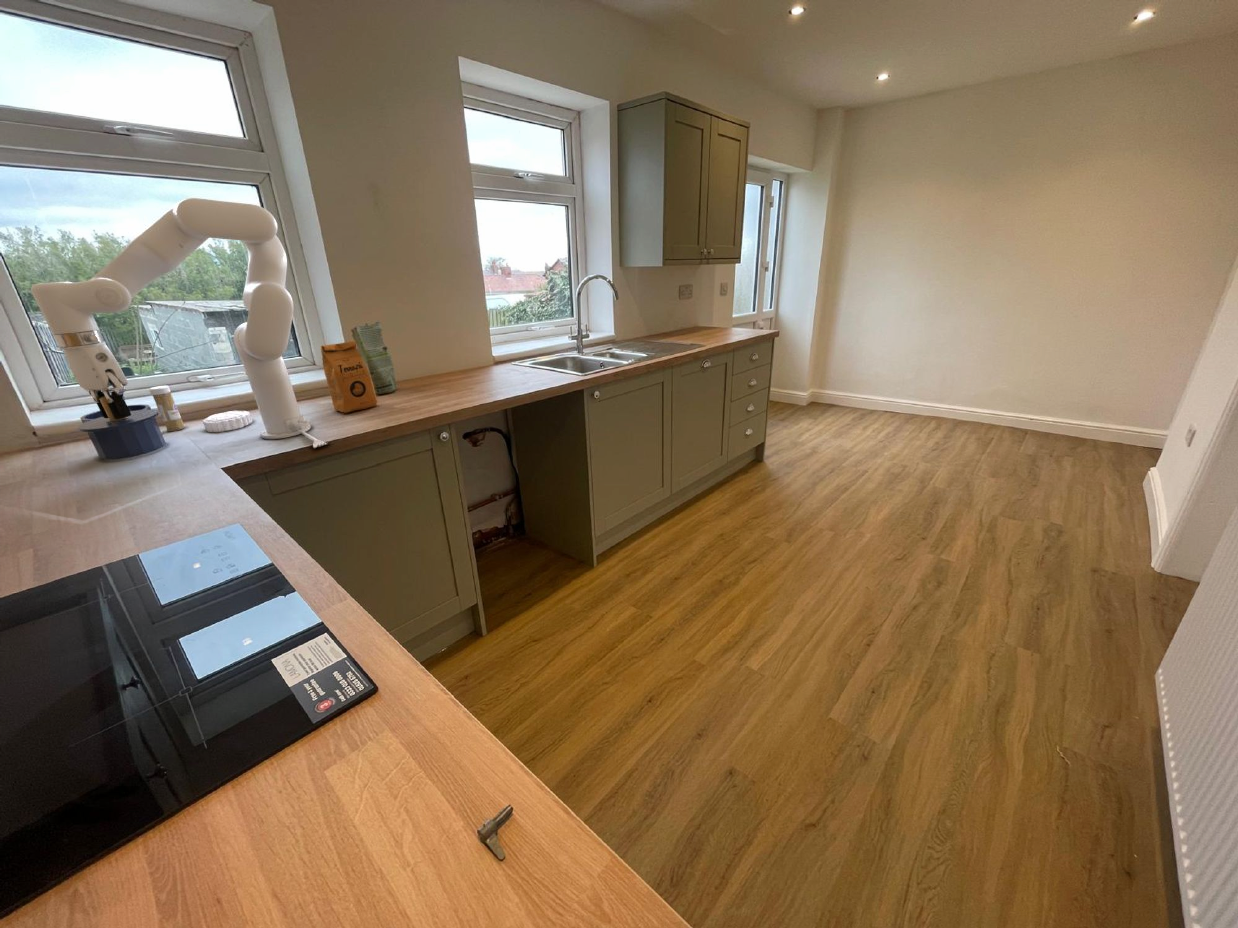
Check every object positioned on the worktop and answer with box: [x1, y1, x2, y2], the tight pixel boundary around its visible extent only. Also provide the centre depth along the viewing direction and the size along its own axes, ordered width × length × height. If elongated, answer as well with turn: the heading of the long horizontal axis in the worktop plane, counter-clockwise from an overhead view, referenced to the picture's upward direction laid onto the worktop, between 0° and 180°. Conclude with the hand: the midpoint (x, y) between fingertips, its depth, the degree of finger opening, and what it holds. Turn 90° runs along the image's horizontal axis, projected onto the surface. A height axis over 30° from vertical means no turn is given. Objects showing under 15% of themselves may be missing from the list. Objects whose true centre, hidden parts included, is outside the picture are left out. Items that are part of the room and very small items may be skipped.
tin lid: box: [76, 397, 160, 433], centre depth 120 cm, size 15×15×7 cm
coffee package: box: [320, 339, 378, 413], centre depth 163 cm, size 10×12×22 cm
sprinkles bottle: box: [149, 385, 186, 432], centre depth 153 cm, size 5×5×14 cm
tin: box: [79, 404, 167, 461], centre depth 135 cm, size 14×14×12 cm
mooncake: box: [202, 410, 253, 433], centre depth 155 cm, size 12×12×4 cm
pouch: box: [350, 321, 398, 395], centre depth 183 cm, size 11×12×25 cm
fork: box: [301, 431, 329, 449], centre depth 139 cm, size 3×20×2 cm, turn 45°
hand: (117, 416), depth 121 cm, fingers closed on tin lid, 3 cm apart
